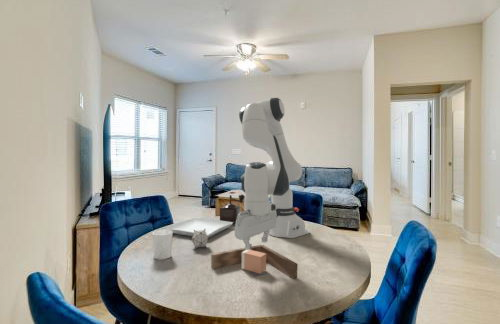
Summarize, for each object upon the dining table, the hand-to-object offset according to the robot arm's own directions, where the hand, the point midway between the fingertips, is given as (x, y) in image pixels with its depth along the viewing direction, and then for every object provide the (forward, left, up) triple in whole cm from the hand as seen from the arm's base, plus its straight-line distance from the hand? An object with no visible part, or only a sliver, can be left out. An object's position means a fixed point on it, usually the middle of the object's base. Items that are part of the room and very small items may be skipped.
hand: (256, 245), depth 100 cm
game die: (+10, -32, -9) cm, 35 cm away
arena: (+2, +1, -9) cm, 9 cm away
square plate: (+1, -57, -10) cm, 58 cm away
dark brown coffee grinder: (-23, -64, -9) cm, 69 cm away
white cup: (+27, -29, -9) cm, 41 cm away
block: (+1, 0, -9) cm, 9 cm away
